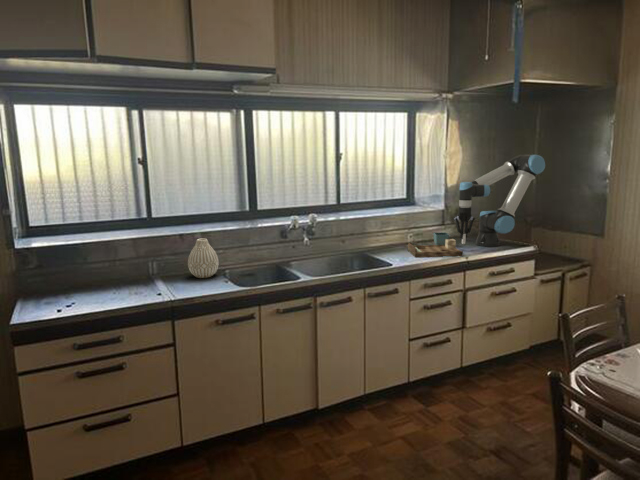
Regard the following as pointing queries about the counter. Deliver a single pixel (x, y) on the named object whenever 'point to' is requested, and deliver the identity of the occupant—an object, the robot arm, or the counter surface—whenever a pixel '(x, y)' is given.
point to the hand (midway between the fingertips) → (463, 243)
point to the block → (450, 243)
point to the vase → (203, 259)
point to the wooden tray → (433, 251)
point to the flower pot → (440, 238)
